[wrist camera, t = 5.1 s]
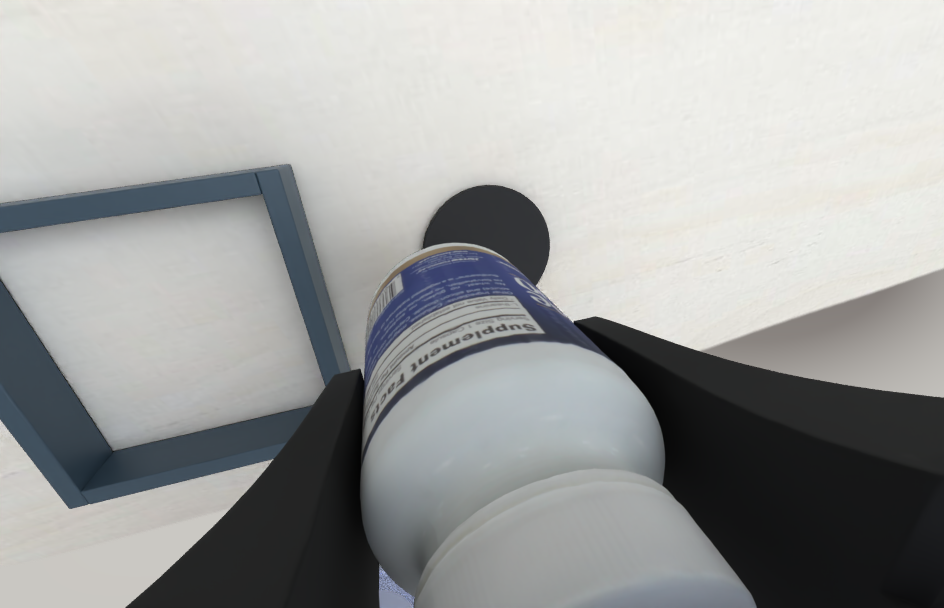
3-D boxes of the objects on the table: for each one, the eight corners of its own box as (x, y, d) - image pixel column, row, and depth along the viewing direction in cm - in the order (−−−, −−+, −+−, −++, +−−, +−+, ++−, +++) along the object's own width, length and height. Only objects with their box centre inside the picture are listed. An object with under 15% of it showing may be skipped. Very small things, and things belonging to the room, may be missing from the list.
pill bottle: (545, 350, 14) (807, 689, 6) (407, 410, 14) (464, 862, 5) (502, 210, 12) (843, 433, 3) (334, 279, 12) (226, 723, 3)
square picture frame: (361, 406, 22) (360, 438, 19) (103, 467, 20) (68, 510, 17) (290, 163, 16) (278, 168, 14) (-70, 212, 14) (-152, 227, 12)
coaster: (508, 326, 22) (511, 329, 22) (400, 282, 20) (401, 285, 19) (569, 221, 20) (573, 222, 20) (459, 159, 18) (461, 160, 18)
